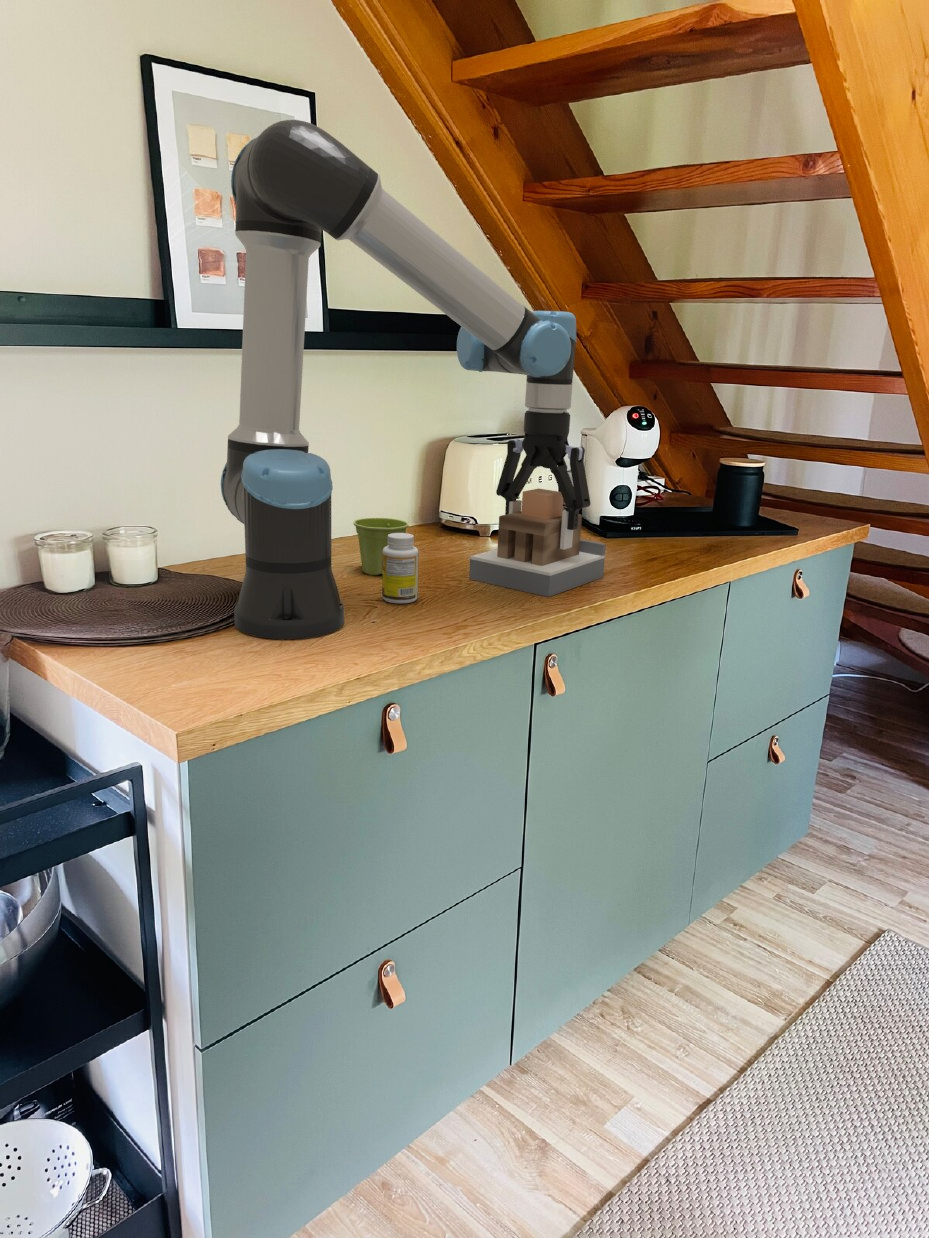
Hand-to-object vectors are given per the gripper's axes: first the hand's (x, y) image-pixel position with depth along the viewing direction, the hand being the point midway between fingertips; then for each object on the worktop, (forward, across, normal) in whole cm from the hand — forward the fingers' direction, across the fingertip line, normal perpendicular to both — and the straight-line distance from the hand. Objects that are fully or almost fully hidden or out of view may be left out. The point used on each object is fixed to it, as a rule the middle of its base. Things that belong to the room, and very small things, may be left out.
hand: (539, 543), depth 157 cm
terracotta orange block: (-5, 0, 0) cm, 5 cm away
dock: (+6, 0, 0) cm, 6 cm away
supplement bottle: (+6, +8, +27) cm, 29 cm away
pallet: (+2, 0, 0) cm, 2 cm away
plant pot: (+6, +22, +16) cm, 28 cm away
